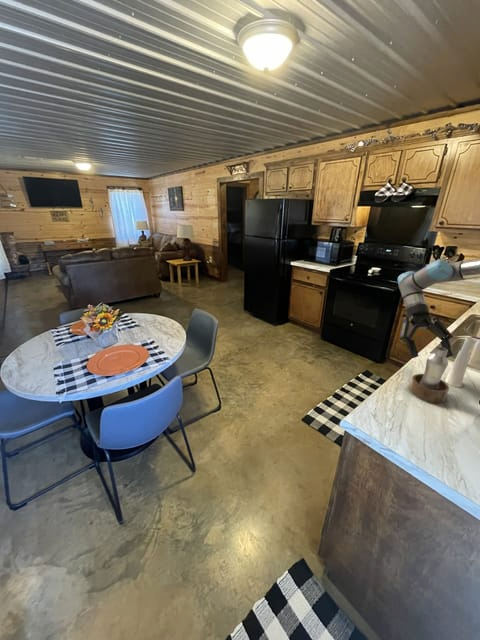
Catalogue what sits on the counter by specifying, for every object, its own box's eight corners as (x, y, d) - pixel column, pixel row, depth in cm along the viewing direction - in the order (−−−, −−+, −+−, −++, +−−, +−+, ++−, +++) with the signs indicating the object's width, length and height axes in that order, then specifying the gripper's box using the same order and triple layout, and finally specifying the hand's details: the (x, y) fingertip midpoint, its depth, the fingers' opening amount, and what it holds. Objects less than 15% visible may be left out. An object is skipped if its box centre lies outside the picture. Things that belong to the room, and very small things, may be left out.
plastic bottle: (412, 388, 106) (426, 345, 99) (428, 388, 107) (443, 344, 99) (423, 399, 100) (439, 353, 93) (440, 398, 101) (457, 353, 93)
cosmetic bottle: (442, 379, 114) (459, 334, 106) (460, 384, 112) (478, 337, 103) (444, 386, 110) (461, 339, 101) (462, 391, 107) (482, 343, 98)
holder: (444, 394, 104) (449, 381, 102) (442, 410, 96) (448, 395, 94) (410, 383, 111) (415, 370, 109) (406, 397, 103) (410, 383, 100)
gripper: (438, 310, 113) (455, 358, 104) (382, 310, 111) (395, 359, 103) (452, 302, 106) (471, 353, 97) (392, 302, 104) (407, 354, 96)
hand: (432, 357), depth 100 cm, fingers open, 13 cm apart
